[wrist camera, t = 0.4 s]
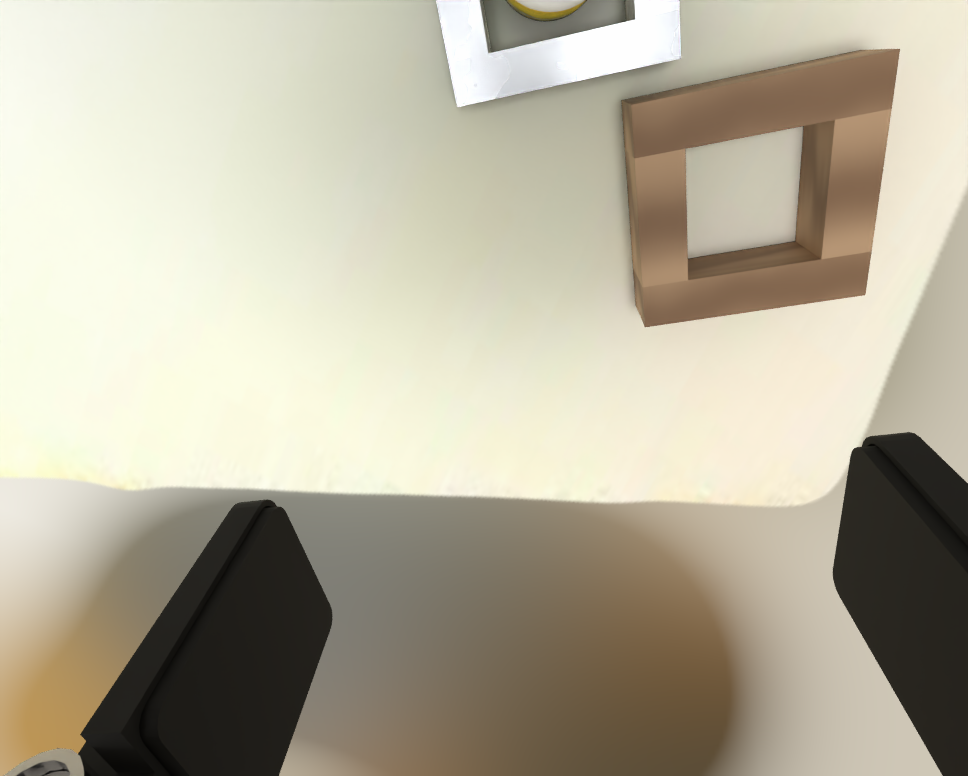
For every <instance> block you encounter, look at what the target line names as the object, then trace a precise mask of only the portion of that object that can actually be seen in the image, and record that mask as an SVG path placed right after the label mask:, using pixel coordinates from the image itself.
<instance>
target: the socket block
mask: <svg viewBox="0 0 968 776" xmlns="http://www.w3.org/2000/svg"><path fill="white" fill-rule="evenodd" d="M436 3H437V8H438V13H439V18H440V23H441V28H442V33H443V38H444V44H445V49H446V54H447V59H448V64H449V69H450V74H451V79H452V84H453V89H454V94H455V99H456V104H457V107H461V106H465V105H470V104H475V103H479V102H484V101H488V100H493V99H498V98H502V97H507V96H511V95H516V94H521V93H525V92H530V91H534V90H539V89H543V88H548V87H553V86H557V85H562V84H566V83H571V82H576V81H580V80H585V79H589V78H594V77H599V76H603V75H608V74H612V73H617V72H621V71H626V70H631V69H635V68H640V67H644V66H649V65H654V64H658V63H663V62H667V61H672V60H677V59H681V37H680V0H625V13H626V22H622V23H618V24H614V25H609V26H605V27H601V28H596V29H592V30H588V31H583V32H579V33H575V34H570V35H566V36H562V37H557V38H553V39H549V40H544V41H540V42H536V43H531V44H527V45H523V46H518V47H514V48H510V49H505V50H501V51H497V52H493V53H492V52H491V45H490V39H489V33H488V27H487V21H486V15H485V9H484V3H483V0H436Z"/></svg>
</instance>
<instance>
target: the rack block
mask: <svg viewBox="0 0 968 776" xmlns="http://www.w3.org/2000/svg"><path fill="white" fill-rule="evenodd" d="M899 52H900V49H880V50H859V51H854V52H849V53H845V54H840V55H835V56H830V57H826V58H821V59H816V60H811V61H807V62H802V63H797V64H792V65H788V66H783V67H778V68H773V69H768V70H764V71H759V72H754V73H749V74H745V75H740V76H735V77H730V78H726V79H721V80H716V81H711V82H707V83H702V84H697V85H692V86H687V87H683V88H678V89H673V90H668V91H664V92H659V93H654V94H649V95H645V96H640V97H635V98H630V99H626V100H621V102H622V116H623V130H624V145H625V159H626V174H627V188H628V202H629V217H630V231H631V245H632V260H633V274H634V288H635V303H636V307H637V309H638V312H639V314H640V316H641V319H642V321H643V323H644V326H645V327H650V326H657V325H663V324H670V323H677V322H684V321H691V320H698V319H704V318H711V317H718V316H725V315H732V314H739V313H746V312H752V311H759V310H766V309H773V308H780V307H787V306H793V305H800V304H807V303H814V302H821V301H828V300H834V299H841V298H848V297H855V296H862V295H865V293H866V286H867V279H868V272H869V265H870V258H871V251H872V244H873V237H874V229H875V222H876V215H877V208H878V201H879V194H880V187H881V180H882V173H883V166H884V158H885V151H886V144H887V137H888V130H889V123H890V116H891V109H892V102H893V95H894V88H895V80H896V73H897V66H898V59H899ZM801 126H804V131H803V145H802V158H801V172H800V185H799V199H798V213H797V226H796V240H795V242H789V243H783V244H777V245H770V246H764V247H758V248H752V249H746V250H740V251H734V252H728V253H721V254H715V255H709V256H703V257H697V258H691V259H688V255H687V206H686V158H685V149H687V148H692V147H697V146H702V145H707V144H712V143H718V142H723V141H728V140H733V139H738V138H744V137H749V136H754V135H759V134H764V133H769V132H775V131H780V130H785V129H790V128H795V127H801Z"/></svg>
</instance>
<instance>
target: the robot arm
mask: <svg viewBox="0 0 968 776" xmlns="http://www.w3.org/2000/svg"><path fill="white" fill-rule="evenodd" d="M833 580H834V583H835V587H836V590H837V592H838V594H839V596H840V598H841V600H842V601H843V603H844V605H845V607H846V608H847V610H848V612H849V614H850V615H851V617H852V619H853V621H854V622H855V624H856V626H857V628H858V629H859V631H860V633H861V634H862V636H863V638H864V640H865V641H866V643H867V645H868V647H869V648H870V650H871V652H872V654H873V655H874V657H875V659H876V660H877V662H878V664H879V666H880V667H881V669H882V671H883V673H884V674H885V676H886V678H887V680H888V681H889V683H890V685H891V687H892V688H893V690H894V692H895V694H896V695H897V697H898V699H899V701H900V702H901V704H902V706H903V707H904V709H905V711H906V713H907V714H908V716H909V718H910V719H911V721H912V723H913V725H914V727H915V728H916V730H917V732H918V734H919V735H920V737H921V739H922V740H923V742H924V744H925V745H926V747H927V749H928V751H929V753H930V754H931V756H932V758H933V760H934V761H935V763H936V765H937V767H938V768H939V770H940V772H941V773H942V775H943V776H968V483H967V482H966V481H964V479H962V478H961V477H960V476H959V475H958V474H957V473H956V472H955V471H954V470H953V469H952V468H951V467H950V466H949V465H948V464H947V463H946V462H945V461H944V460H943V459H942V458H941V457H940V456H939V455H937V453H936V452H935V451H934V450H932V448H930V447H929V446H928V445H927V444H926V443H925V442H924V441H923V440H922V439H921V438H920V437H919V436H917V435H916V434H915V433H910V432H907V433H897V434H888V435H878V436H870V437H867V438H866V439H865V440H864V442H863V444H862V447H857V448H854V449H853V451H852V453H851V457H850V463H849V470H848V476H847V483H846V489H845V496H844V502H843V508H842V515H841V521H840V527H839V534H838V541H837V547H836V554H835V559H834V566H833ZM331 625H332V609H331V607H330V604H329V602H328V600H327V598H326V595H325V593H324V591H323V589H322V587H321V585H320V583H319V581H318V579H317V576H316V575H315V572H314V570H313V568H312V566H311V564H310V562H309V560H308V558H307V555H306V553H305V551H304V549H303V547H302V545H301V543H300V541H299V539H298V537H297V534H296V532H295V530H294V528H293V526H292V524H291V522H290V520H289V518H288V516H287V513H286V512H285V510H284V509H283V508H282V507H277V506H276V505H275V503H274V502H273V501H271V500H259V501H250V502H241V503H237V504H235V505H234V506H233V507H232V509H231V510H230V511H229V513H228V514H227V516H226V517H225V519H224V520H223V522H222V523H221V525H220V526H219V528H218V529H217V531H216V532H215V534H214V535H213V537H212V538H211V540H210V541H209V543H208V544H207V546H206V547H205V549H204V550H203V552H202V553H201V555H200V556H199V558H198V559H197V561H196V562H195V564H194V565H193V567H192V568H191V570H190V571H189V573H188V574H187V576H186V577H185V579H184V580H183V582H182V583H181V585H180V586H179V588H178V589H177V591H176V592H175V594H174V595H173V597H172V598H171V600H170V601H169V603H168V604H167V606H166V607H165V608H164V610H163V611H162V613H161V615H160V616H159V617H158V619H157V620H156V622H155V624H154V625H153V627H152V628H151V629H150V631H149V633H148V634H147V635H146V637H145V638H144V640H143V641H142V643H141V644H140V646H139V647H138V649H137V650H136V652H135V653H134V655H133V656H132V658H131V659H130V661H129V662H128V664H127V665H126V667H125V669H124V670H123V671H122V673H121V674H120V676H119V677H118V679H117V680H116V682H115V683H114V685H113V686H112V688H111V689H110V691H109V692H108V694H107V695H106V697H105V698H104V700H103V701H102V703H101V704H100V706H99V707H98V709H97V710H96V712H95V713H94V715H93V716H92V718H91V719H90V721H89V722H88V724H87V725H86V727H85V728H84V730H83V731H82V733H81V734H80V735H81V736H82V737H83V738H84V739H85V740H86V743H85V744H84V746H83V747H82V749H81V750H80V752H79V753H78V754H77V753H75V752H74V751H73V750H71V749H60V748H57V749H53V750H50V751H46V752H42V753H40V754H38V755H36V756H34V757H32V758H30V759H28V760H26V761H24V762H22V763H21V764H19V765H18V766H16V767H15V768H14V769H12V770H11V771H9V772H8V773H7V774H5V775H4V776H279V773H280V770H281V767H282V765H283V762H284V759H285V756H286V753H287V751H288V748H289V745H290V742H291V739H292V736H293V734H294V731H295V728H296V725H297V722H298V719H299V717H300V714H301V711H302V708H303V705H304V702H305V700H306V697H307V694H308V691H309V688H310V685H311V682H312V679H313V677H314V674H315V671H316V668H317V665H318V663H319V660H320V657H321V654H322V651H323V648H324V646H325V643H326V640H327V637H328V634H329V632H330V629H331Z"/></svg>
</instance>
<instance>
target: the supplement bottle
mask: <svg viewBox="0 0 968 776" xmlns="http://www.w3.org/2000/svg"><path fill="white" fill-rule="evenodd" d="M506 1H507V2H508V3H509V5H510V6H511V7H512V8H513V9H514V10H516V11H517V12H518V13H520V14H521V15H523V16H525V17H527V18H530V19H532V20H537V21H554V20H558V19H561V18H564V17H566V16H568V15H570V14H572V13H573V12H574V11H576V10H577V9H578V8H580V7H581V6H582V5H583V4H584V3H585V2H586V1H587V0H506Z"/></svg>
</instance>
